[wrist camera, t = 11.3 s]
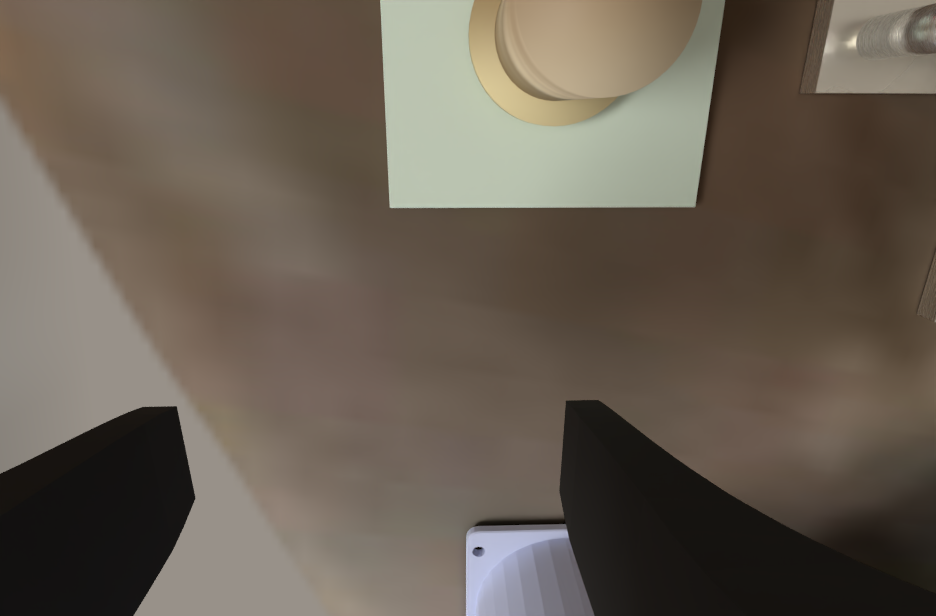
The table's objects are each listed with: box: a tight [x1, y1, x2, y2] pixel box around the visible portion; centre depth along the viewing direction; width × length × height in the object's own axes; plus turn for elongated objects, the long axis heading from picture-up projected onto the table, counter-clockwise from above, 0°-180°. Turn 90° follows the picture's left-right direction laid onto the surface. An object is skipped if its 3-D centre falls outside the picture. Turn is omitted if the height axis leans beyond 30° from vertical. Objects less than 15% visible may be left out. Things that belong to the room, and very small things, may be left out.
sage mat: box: [380, 0, 725, 208], centre depth 16 cm, size 10×10×1 cm
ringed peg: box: [468, 0, 702, 126], centre depth 13 cm, size 5×5×6 cm
